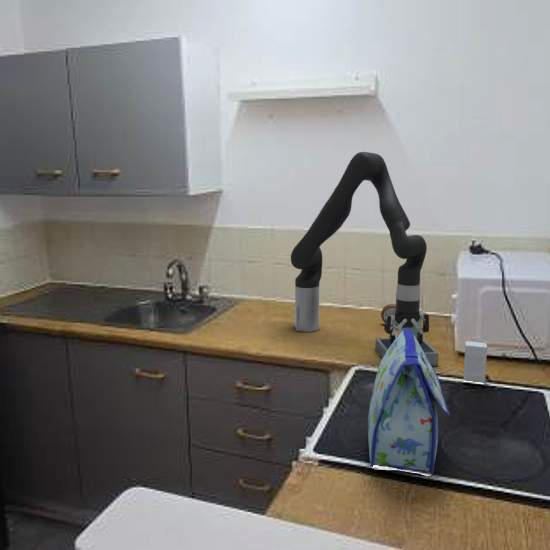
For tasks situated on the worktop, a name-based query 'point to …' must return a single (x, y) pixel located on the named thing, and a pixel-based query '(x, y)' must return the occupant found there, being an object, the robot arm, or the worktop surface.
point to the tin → (389, 312)
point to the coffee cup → (414, 327)
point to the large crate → (428, 350)
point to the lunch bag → (405, 408)
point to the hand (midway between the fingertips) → (405, 344)
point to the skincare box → (475, 361)
